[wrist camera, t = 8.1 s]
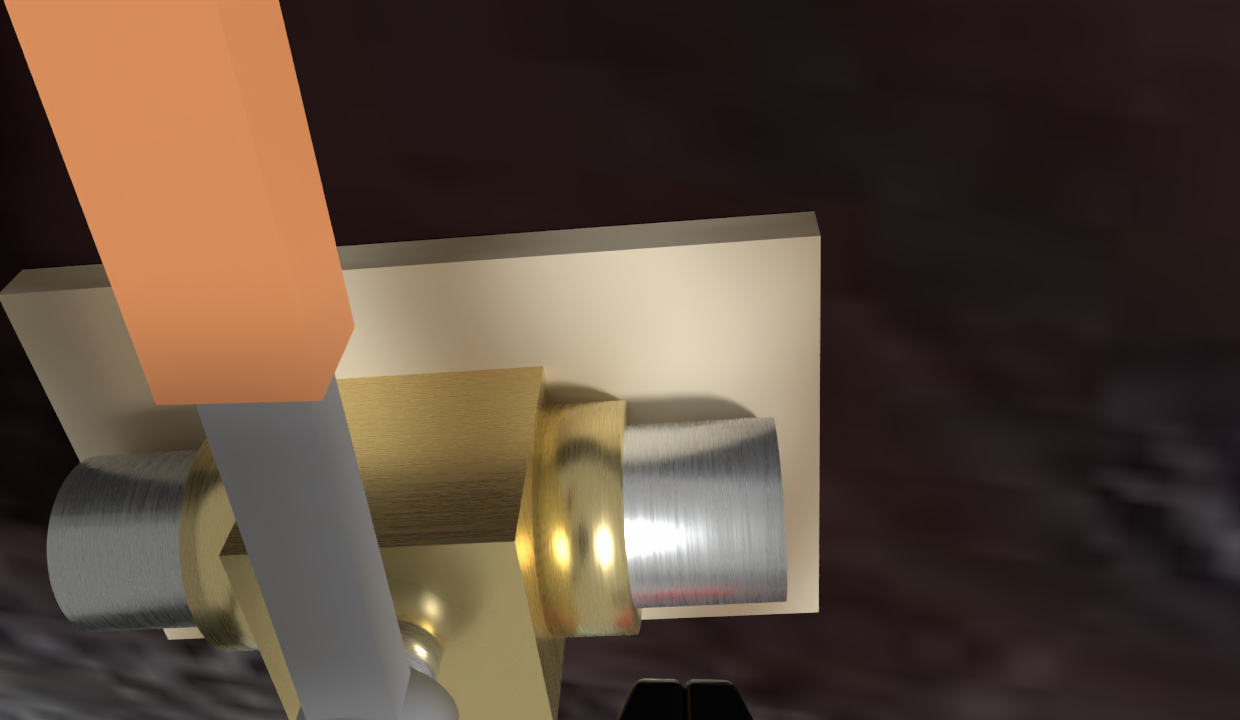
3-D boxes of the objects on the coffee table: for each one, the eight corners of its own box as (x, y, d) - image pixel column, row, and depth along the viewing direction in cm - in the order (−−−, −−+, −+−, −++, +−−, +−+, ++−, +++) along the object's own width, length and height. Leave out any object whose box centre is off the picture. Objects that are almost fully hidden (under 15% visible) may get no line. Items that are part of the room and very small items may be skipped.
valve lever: (470, 748, 19) (455, 834, 17) (325, 749, 19) (300, 834, 18) (288, -84, 11) (236, -44, 10) (44, -71, 11) (-41, -30, 10)
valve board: (183, 609, 27) (168, 639, 27) (22, 269, 22) (-3, 294, 21) (813, 580, 26) (818, 611, 25) (814, 211, 20) (820, 235, 20)
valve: (181, 550, 26) (53, 795, 20) (104, 380, 23) (-70, 612, 17) (772, 521, 24) (802, 773, 19) (766, 338, 22) (800, 573, 16)
